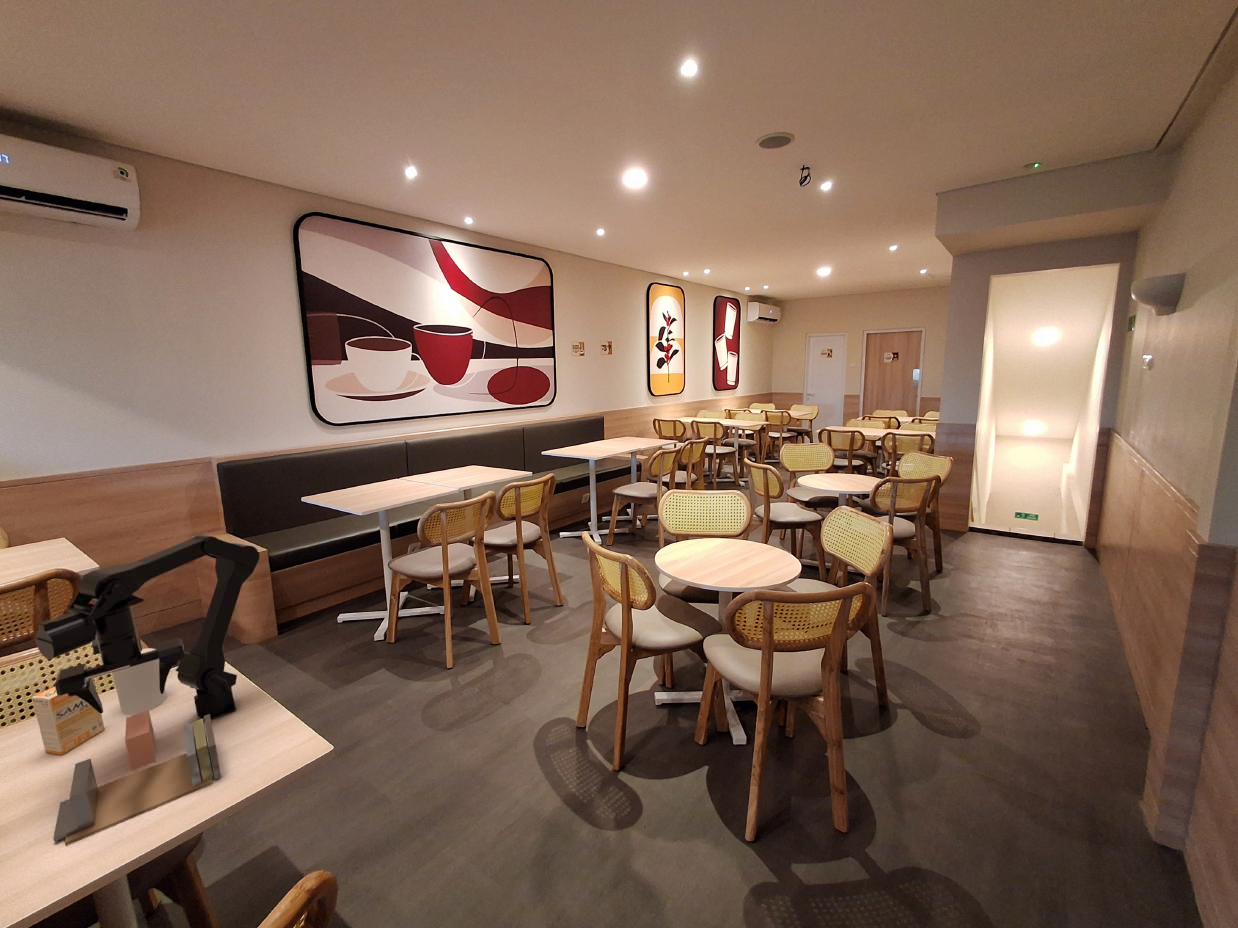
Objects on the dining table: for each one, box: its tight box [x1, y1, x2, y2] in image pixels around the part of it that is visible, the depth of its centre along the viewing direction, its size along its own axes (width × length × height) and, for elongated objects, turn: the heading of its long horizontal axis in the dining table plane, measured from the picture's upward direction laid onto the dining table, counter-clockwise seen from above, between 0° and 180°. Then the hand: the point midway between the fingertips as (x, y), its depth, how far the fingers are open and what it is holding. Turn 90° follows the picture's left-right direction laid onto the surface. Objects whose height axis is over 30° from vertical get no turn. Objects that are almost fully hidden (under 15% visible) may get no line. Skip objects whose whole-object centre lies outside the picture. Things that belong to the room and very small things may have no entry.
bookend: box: [52, 758, 99, 842], centre depth 96 cm, size 5×10×7 cm, turn 40°
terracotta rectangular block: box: [124, 710, 157, 771], centre depth 111 cm, size 4×9×7 cm, turn 40°
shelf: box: [64, 714, 222, 846], centre depth 102 cm, size 22×13×8 cm, turn 130°
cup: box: [111, 647, 167, 716], centre depth 127 cm, size 8×8×12 cm
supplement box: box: [31, 677, 106, 756], centre depth 115 cm, size 8×5×13 cm, turn 168°
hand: (132, 702), depth 110 cm, fingers open, 9 cm apart
